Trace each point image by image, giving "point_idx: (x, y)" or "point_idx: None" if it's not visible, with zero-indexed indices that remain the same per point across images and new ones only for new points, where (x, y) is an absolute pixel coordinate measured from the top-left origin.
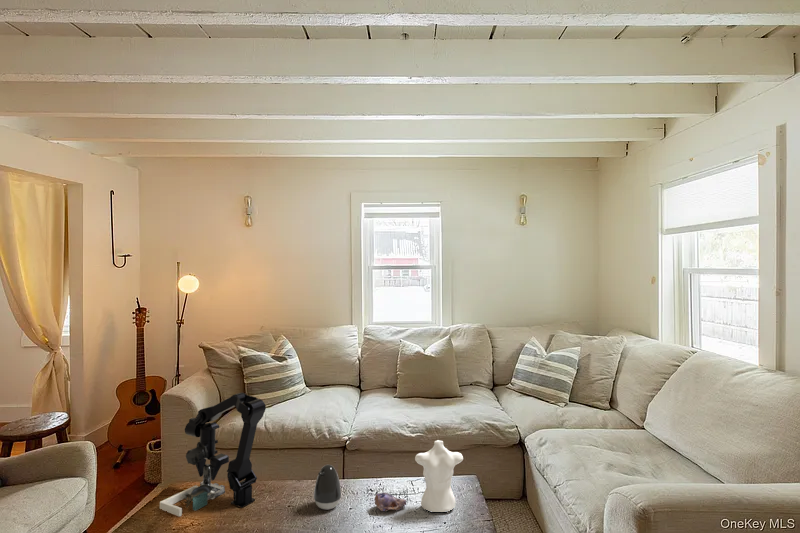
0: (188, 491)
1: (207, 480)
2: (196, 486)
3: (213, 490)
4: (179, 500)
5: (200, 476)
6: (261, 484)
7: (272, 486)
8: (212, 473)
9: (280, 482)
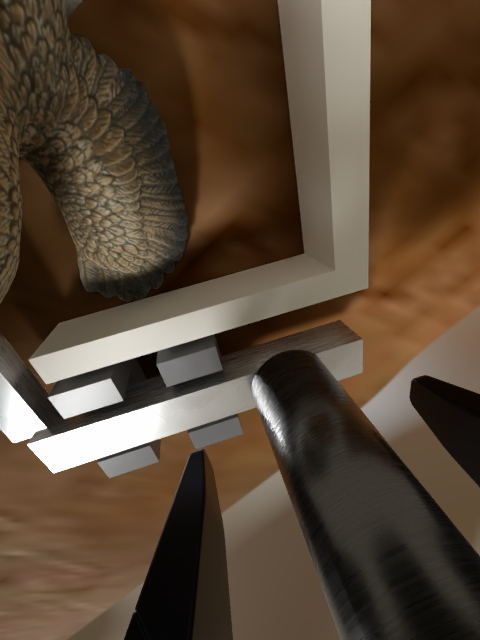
0: (320, 168)
1: (267, 409)
2: (334, 283)
3: (84, 382)
4: (282, 23)
5: (415, 381)
6: (92, 579)
7: (21, 612)
8: (138, 609)
9: (49, 634)
